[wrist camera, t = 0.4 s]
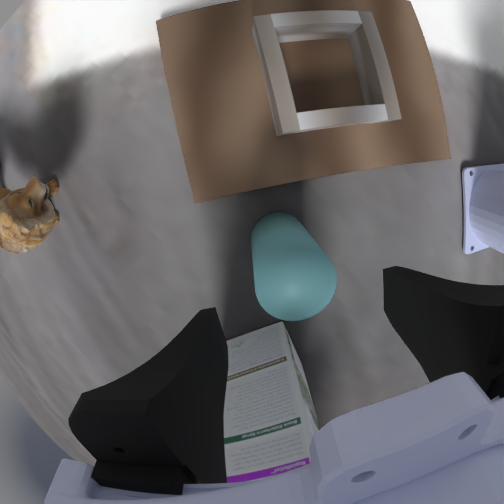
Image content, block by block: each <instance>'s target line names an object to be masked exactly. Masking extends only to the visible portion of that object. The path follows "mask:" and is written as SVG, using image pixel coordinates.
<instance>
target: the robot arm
mask: <svg viewBox="0 0 504 504" xmlns="http://www.w3.org/2000/svg"><path fill="white" fill-rule="evenodd" d="M470 172H471V174H470ZM462 183H463V205H464V239H463V252H464V253H466V254H470V253H474V252H477V251H480V250H483V249H486V248H488V247H492V248H494V249H496V250H497V251H499V252H501V253H503V254H504V164H494V165H484V166H474V167H466V168H463V170H462ZM471 246H472V247H471ZM383 283H384V311H385V313H386V315H387V317H388V319H389V321H390V323H391V324H392V326H393V328H394V329H395V330H396V332H397V333H398V335H399V336H400V337H401V339H402V340H403V341H404V343H405V344H406V345H407V347H408V348H409V349H410V351H411V352H412V353H413V355H414V356H415V357H416V359H417V360H418V362H419V363H420V365H421V366H422V368H423V370H424V372H425V374H426V376H427V377H428V379H429V381H430V383H428V384H426V385H424V386H421V387H419V388H416V389H414V390H411V391H409V392H406V393H404V394H401V395H398V396H395V397H393V398H390V399H387V400H384V401H381V402H378V403H375V404H372V405H369V406H366V407H362V408H359V409H356V410H353V411H350V412H348V413H346V414H344V415H341V416H339V417H337V418H334V419H332V420H331V421H330V422H328V423H327V424H326V425H325V426H324V427H322V428H321V429H320V430H319V431H317V432H316V433H315V434H314V435H313V438H312V441H311V444H310V447H309V451H310V457H311V463H310V464H307V465H305V466H302V467H299V468H296V469H293V470H290V471H287V472H284V473H281V474H278V475H274V476H271V477H268V478H264V479H261V480H256V481H246V482H234V483H227V475H226V463H225V447H224V403H225V394H226V385H227V376H228V366H229V363H228V345H227V342H226V339H225V336H224V333H223V330H222V327H221V324H220V321H219V318H218V315H217V312H216V308H215V307H214V308H209V309H203V310H200V311H199V312H198V313H197V314H196V315H195V316H194V318H193V319H192V320H191V321H190V322H189V323H188V324H187V325H186V326H185V327H184V329H183V330H182V331H181V332H180V333H179V334H178V335H177V336H176V337H175V338H174V339H173V340H172V341H171V342H170V343H169V344H168V345H167V346H166V347H165V348H163V349H162V350H161V351H160V352H159V353H158V354H156V355H155V356H154V357H152V358H151V359H150V360H149V361H147V362H146V363H144V364H143V365H141V366H140V367H138V368H136V369H135V370H133V371H132V372H130V373H128V374H127V375H125V376H123V377H121V378H119V379H117V380H115V381H113V382H111V383H108V384H106V385H104V386H101V387H99V388H96V389H93V390H90V391H88V392H85V393H82V394H81V396H80V398H79V400H78V402H77V404H76V405H75V407H74V409H73V411H72V413H71V415H70V417H69V426H70V428H71V431H72V433H73V434H74V435H75V437H76V438H77V439H78V441H79V442H80V443H81V444H82V445H83V446H84V447H85V448H86V449H87V450H88V451H89V452H90V453H91V454H92V456H93V457H94V458H95V459H96V460H97V461H96V464H95V467H93V466H91V465H89V464H87V463H84V462H78V461H73V460H69V459H62V461H61V463H60V465H59V468H58V470H57V472H56V474H55V477H54V479H53V481H52V484H51V486H50V489H49V491H48V493H47V496H46V499H45V501H44V504H504V285H477V284H469V283H462V282H456V281H451V280H447V279H443V278H439V277H435V276H432V275H428V274H425V273H421V272H418V271H415V270H411V269H408V268H404V267H399V266H394V267H390V268H386V269H383Z"/></svg>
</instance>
